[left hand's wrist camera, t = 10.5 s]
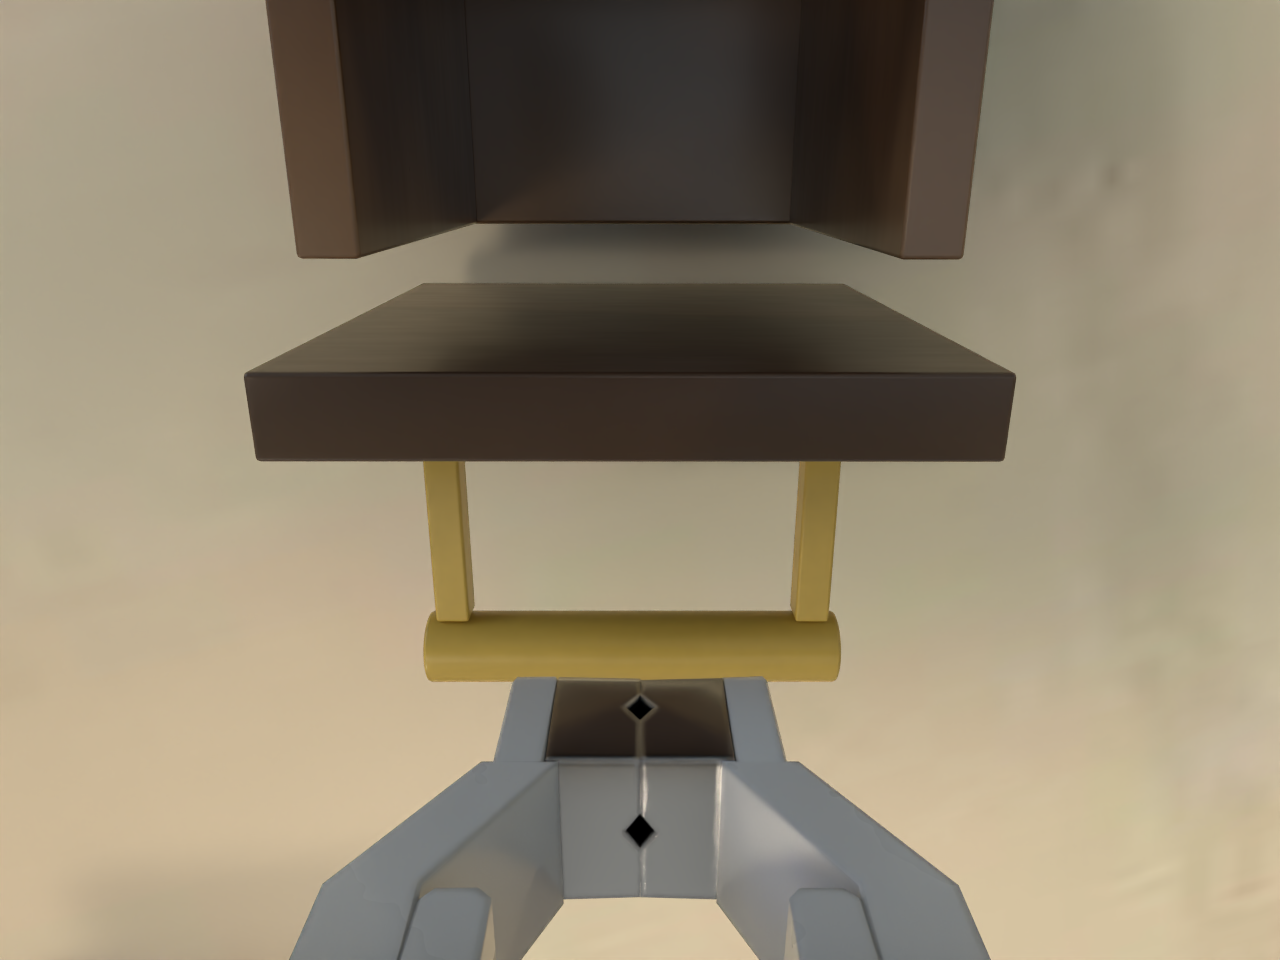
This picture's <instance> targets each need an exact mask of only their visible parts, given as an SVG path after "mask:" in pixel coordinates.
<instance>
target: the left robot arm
mask: <svg viewBox="0 0 1280 960" xmlns="http://www.w3.org/2000/svg"><path fill="white" fill-rule="evenodd" d="M623 897H655V898H691V899H717V904H718V905H719V907H720V908H721V909H722V911H723V912H724V913H725V915H726V916H727V917H728V919H729V920H730V921H731V923H732V924H733V925H734V927H735V928H736V929H737V931H738V932H739V933H740V935H741V936H742V937H743V939H744V940H745V941H746V943H747V944H748V945H749V947H750V948H751V949H752V951H753V952H754V953H755V955H756V956H757V957H758V959H759V960H991V959H990V957H989V955H988V952H987V950H986V948H985V945H984V943H983V941H982V938H981V936H980V934H979V931H978V929H977V927H976V925H975V922H974V920H973V918H972V915H971V913H970V911H969V908H968V906H967V904H966V902H965V899H964V897H963V895H962V892H961V890H960V888H959V885H957V884H956V883H955V882H954V881H952V880H951V879H950V878H948V877H947V876H946V875H944V874H943V873H942V872H941V871H939V870H938V869H937V868H935V867H934V866H933V865H932V864H930V863H929V862H928V861H926V860H925V859H924V858H923V857H921V856H920V855H919V854H917V853H916V852H915V851H914V850H912V849H911V848H910V847H908V846H907V845H906V844H904V843H903V842H902V841H901V840H899V839H898V838H897V837H895V836H894V835H893V834H892V833H890V832H889V831H888V830H886V829H885V828H884V827H883V826H881V825H880V824H879V823H877V822H876V821H875V820H874V819H872V818H871V817H870V816H868V815H867V814H866V813H864V812H863V811H862V810H861V809H859V808H858V807H857V806H855V805H854V804H853V803H852V802H850V801H849V800H848V799H846V798H845V797H844V796H843V795H841V794H840V793H839V792H837V791H836V790H835V789H834V788H832V787H831V786H830V785H828V784H827V783H826V782H824V781H823V780H822V779H821V778H819V777H818V776H817V775H815V774H814V773H813V772H812V771H810V770H809V769H808V768H806V767H805V766H804V765H803V764H801V763H800V762H787V761H786V757H785V753H784V749H783V745H782V740H781V736H780V732H779V728H778V724H777V720H776V716H775V712H774V708H773V704H772V700H771V696H770V692H769V688H768V683H767V680H766V679H765V678H764V677H763V676H752V677H725V678H702V679H659V680H640V679H635V678H585V677H559V678H558V679H557V678H556V677H517V678H516V679H515V680H514V681H513V683H512V687H511V691H510V695H509V699H508V703H507V707H506V711H505V715H504V720H503V724H502V728H501V732H500V736H499V740H498V744H497V748H496V753H495V757H494V761H493V762H480V763H479V764H478V765H476V766H475V767H474V768H472V769H471V770H470V771H468V772H467V773H466V774H465V775H463V776H462V777H461V778H459V779H458V780H457V781H455V782H454V783H453V784H452V785H450V786H449V787H448V788H446V789H445V790H444V791H442V792H441V793H440V794H439V795H437V796H436V797H435V798H433V799H432V800H431V801H430V802H428V803H427V804H426V805H424V806H423V807H422V808H420V809H419V810H418V811H417V812H415V813H414V814H413V815H411V816H410V817H409V818H407V819H406V820H405V821H404V822H402V823H401V824H400V825H398V826H397V827H396V828H395V829H393V830H392V831H391V832H389V833H388V834H387V835H385V836H384V837H383V838H382V839H380V840H379V841H378V842H376V843H375V844H374V845H372V846H371V847H370V848H369V849H367V850H366V851H365V852H363V853H362V854H361V855H359V856H358V857H357V858H356V859H354V860H353V861H352V862H350V863H349V864H348V865H347V866H345V867H344V868H343V869H341V870H340V871H339V872H337V873H336V874H335V875H334V876H332V877H331V878H330V879H328V880H327V881H326V882H324V883H323V884H322V886H321V889H320V891H319V893H318V895H317V898H316V900H315V902H314V905H313V907H312V909H311V911H310V914H309V916H308V918H307V921H306V923H305V925H304V927H303V930H302V932H301V934H300V936H299V939H298V941H297V943H296V946H295V948H294V950H293V952H292V955H291V957H290V959H289V960H521V959H522V958H523V957H524V955H525V954H526V953H527V951H528V950H529V949H530V947H531V946H532V945H533V943H534V942H535V941H536V939H537V938H538V937H539V935H540V934H541V933H542V931H543V930H544V929H545V927H546V926H547V925H548V924H549V922H550V921H551V920H552V918H553V917H554V916H555V914H556V913H557V912H558V910H559V909H560V908H561V906H562V905H563V899H588V898H623Z"/></svg>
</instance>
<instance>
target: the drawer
mask: <svg viewBox="0 0 1280 960" xmlns="http://www.w3.org/2000/svg"><path fill="white" fill-rule="evenodd" d="M265 1H266V9H267V17H268V25H269V33H270V41H271V49H272V57H273V65H274V73H275V81H276V89H277V97H278V105H279V113H280V121H281V129H282V138H283V146H284V154H285V162H286V170H287V178H288V186H289V194H290V202H291V210H292V218H293V226H294V234H295V242H296V250H297V255H298V257H300V258H302V259H357V258H360V257H364V256H367V255H371V254H374V253H377V252H381V251H384V250H388V249H391V248H394V247H398V246H401V245H405V244H408V243H411V242H415V241H418V240H422V239H425V238H428V237H432V236H435V235H438V234H442V233H445V232H449V231H452V230H455V229H459V228H462V227H466V226H469V225H472V224H792V225H795V226H799V227H802V228H805V229H808V230H811V231H815V232H818V233H821V234H824V235H827V236H831V237H834V238H837V239H840V240H843V241H846V242H850V243H853V244H856V245H859V246H862V247H866V248H869V249H872V250H875V251H878V252H881V253H885V254H888V255H891V256H894V257H897V258H901V259H961V258H962V257H963V254H964V246H965V238H966V229H967V221H968V213H969V204H970V196H971V188H972V179H973V171H974V163H975V154H976V146H977V138H978V129H979V121H980V113H981V104H982V96H983V88H984V79H985V71H986V62H987V54H988V46H989V37H990V29H991V21H992V12H993V4H994V0H265ZM244 381H245V388H246V394H247V401H248V408H249V414H250V421H251V428H252V434H253V441H254V448H255V454H256V458H257V460H259V461H423V466H424V478H425V490H426V502H427V513H428V525H429V537H430V549H431V561H432V573H433V585H434V596H435V608H436V611H434V612H432V613H431V614H430V616H429V618H428V621H427V625H426V629H425V635H424V649H423V655H424V667H425V672H426V675H427V678H428V680H430V681H432V682H513V681H514V680H515V679H516V678H517V677H556V678H557V679H558V678H559V677H585V678H635V679H640V680H659V679H702V678H725V677H752V676H763V677H764V678H765V679H766V680H767V682H832V681H835V680H836V679H837V677H838V674H839V670H840V662H841V641H840V632H839V626H838V622H837V619H836V617H835V615H834V613H833V612H831V611H829V603H830V591H831V578H832V566H833V554H834V541H835V529H836V517H837V504H838V492H839V480H840V467H841V462H999V461H1003V460H1004V458H1005V451H1006V444H1007V437H1008V430H1009V424H1010V417H1011V410H1012V403H1013V396H1014V389H1015V382H1016V375H1015V373H1013V372H1011V371H1009V370H1007V369H1005V368H1003V367H1001V366H999V365H997V364H996V363H994V362H992V361H990V360H988V359H986V358H984V357H982V356H980V355H978V354H976V353H975V352H973V351H971V350H969V349H967V348H965V347H963V346H961V345H959V344H957V343H955V342H954V341H952V340H950V339H948V338H946V337H944V336H942V335H940V334H938V333H936V332H934V331H933V330H931V329H929V328H927V327H925V326H923V325H921V324H919V323H917V322H915V321H913V320H912V319H910V318H908V317H906V316H904V315H902V314H900V313H898V312H896V311H894V310H892V309H891V308H889V307H887V306H885V305H883V304H881V303H879V302H877V301H875V300H873V299H872V298H870V297H868V296H866V295H864V294H862V293H860V292H858V291H856V290H854V289H852V288H851V287H849V286H847V285H845V284H499V283H424V284H421V285H419V286H417V287H415V288H413V289H411V290H409V291H407V292H405V293H403V294H401V295H399V296H397V297H395V298H393V299H391V300H389V301H387V302H385V303H383V304H382V305H380V306H378V307H376V308H374V309H372V310H370V311H368V312H366V313H364V314H362V315H360V316H358V317H356V318H354V319H352V320H350V321H348V322H346V323H344V324H342V325H340V326H338V327H336V328H334V329H332V330H330V331H328V332H326V333H324V334H322V335H320V336H318V337H316V338H314V339H312V340H310V341H308V342H306V343H304V344H302V345H300V346H298V347H296V348H294V349H292V350H290V351H288V352H286V353H284V354H282V355H280V356H278V357H276V358H274V359H272V360H270V361H268V362H266V363H264V364H262V365H260V366H258V367H256V368H254V369H252V370H250V371H248V372H246V373H245V375H244ZM465 461H748V462H800V464H799V479H798V494H797V510H796V525H795V541H794V556H793V572H792V587H791V603H790V606H791V609H792V611H473V608H474V606H475V605H474V590H473V575H472V560H471V546H470V531H469V516H468V502H467V487H466V472H465Z"/></svg>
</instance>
